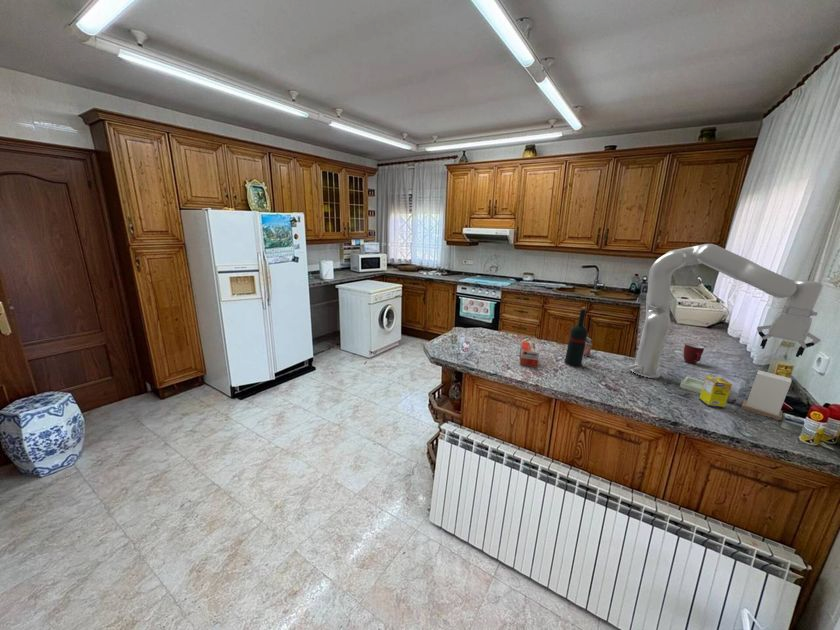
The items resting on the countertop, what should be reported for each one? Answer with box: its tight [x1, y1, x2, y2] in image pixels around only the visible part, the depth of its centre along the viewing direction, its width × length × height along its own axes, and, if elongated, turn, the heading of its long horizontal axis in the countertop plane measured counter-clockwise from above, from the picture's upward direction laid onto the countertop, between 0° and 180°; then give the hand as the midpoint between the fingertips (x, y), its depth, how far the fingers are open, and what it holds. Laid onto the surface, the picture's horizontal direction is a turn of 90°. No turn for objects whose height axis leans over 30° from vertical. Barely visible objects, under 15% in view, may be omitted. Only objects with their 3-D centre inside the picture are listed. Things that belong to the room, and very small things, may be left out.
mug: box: [683, 342, 705, 365], centre depth 175 cm, size 10×8×10 cm
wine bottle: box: [564, 306, 588, 368], centre depth 164 cm, size 8×10×30 cm
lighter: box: [583, 337, 593, 357], centre depth 179 cm, size 8×3×10 cm, turn 5°
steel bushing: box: [726, 390, 739, 405], centre depth 136 cm, size 5×5×4 cm
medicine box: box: [519, 341, 540, 368], centre depth 166 cm, size 15×8×8 cm, turn 166°
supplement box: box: [698, 375, 733, 410], centre depth 131 cm, size 6×6×11 cm
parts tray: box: [679, 376, 705, 395], centre depth 146 cm, size 12×12×2 cm
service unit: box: [740, 369, 792, 421], centre depth 127 cm, size 8×11×16 cm
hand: (779, 352), depth 131 cm, fingers open, 9 cm apart
